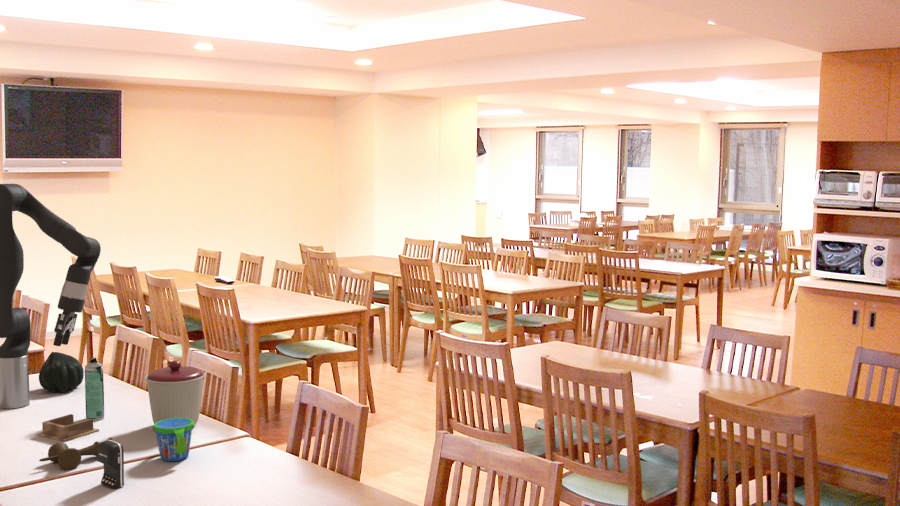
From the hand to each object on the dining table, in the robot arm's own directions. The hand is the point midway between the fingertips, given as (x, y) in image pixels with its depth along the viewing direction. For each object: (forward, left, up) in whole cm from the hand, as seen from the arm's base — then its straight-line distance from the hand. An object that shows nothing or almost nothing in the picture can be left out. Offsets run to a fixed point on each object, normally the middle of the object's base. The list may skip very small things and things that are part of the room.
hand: (60, 345), depth 268 cm
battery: (+64, -33, -24) cm, 76 cm away
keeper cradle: (+18, -11, -23) cm, 32 cm away
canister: (+40, +11, -24) cm, 48 cm away
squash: (-28, +20, -24) cm, 42 cm away
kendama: (+42, -26, -24) cm, 55 cm away
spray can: (+12, +3, -24) cm, 27 cm away
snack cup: (+62, -10, -24) cm, 67 cm away
